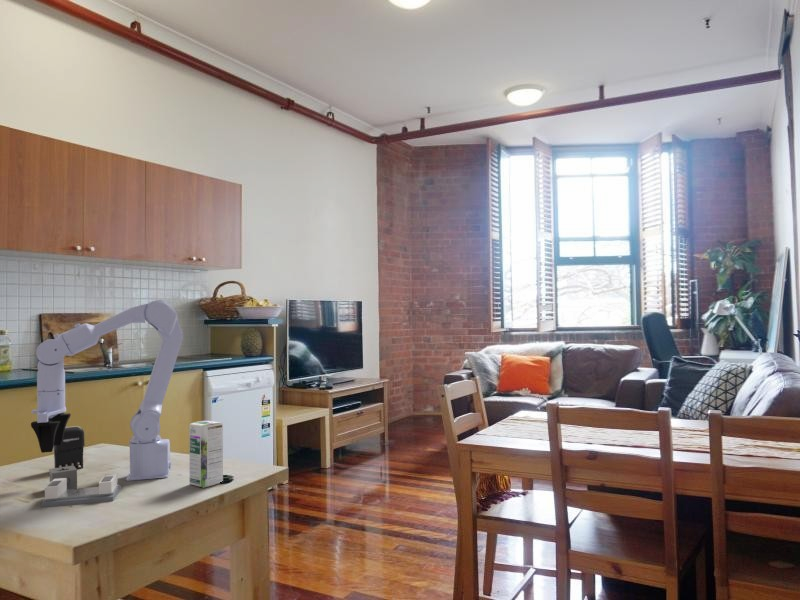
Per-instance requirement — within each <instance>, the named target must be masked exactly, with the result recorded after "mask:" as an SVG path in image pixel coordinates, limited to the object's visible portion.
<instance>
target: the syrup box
mask: <svg viewBox="0 0 800 600" xmlns="http://www.w3.org/2000/svg"><path fill="white" fill-rule="evenodd" d="M188 429H189V430H188V431H189V432H188V433H189V437H188V438H189V445H188V446H189V457H188V458H189V462H188V463H189V464H188V465H189V476H188V477H189V483H188V484H189V485H190V486H192V485H193V486H195V487H201V488H203V489H204V488H208V487H212V486H215V485H219V484H221V483H220V482H222V481H223V482H224V454H223V453H224V450H223V449H224V443H223V442H224V441H223V440H224V438H223V437H224V434H223V433H224V430H223V429H224V423H223V422H220V421H213V420H199V421H198V420H197V421H195V422H192V423H189V427H188ZM223 482H222V483H223Z"/></svg>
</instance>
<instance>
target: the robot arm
mask: <svg viewBox="0 0 800 600" xmlns="http://www.w3.org/2000/svg"><path fill="white" fill-rule="evenodd" d="M146 322H147V323H148V324H149V325H150V326H151V327H153V328H154V329H155V331H156V333H157V334H158V336H160V338H161V342H160V346H159V349H158V351H157V355H156V358H155V361H154V363H153V367H152V370H151V373H150V376H149V380H148V383H147V386H146V389H145V391H144V396H143V399H142V401H141V403H140V405H139V408H138V409H137V412H136V413H135V414H134V415H133V416H132V417H131V420H130V424H129V425H130V429H131V431H132V433H133V435H132V437H130V439H129V473H128V476H126V478H125V481H127V482H130V481H141V480H151V479H163V478H168V477H169V474H170V472H171V470H172V469H171V468H172V462H171V443H170V439H168V438H165V439H164V438H161V435H160V432H161V423H160V418H161V415H162V409H163V408H162V407H163V403H164V399H165V397H166V394H167V390H168V387H169V384H170V382H171V377H172V374H173V371H174V369H175V364H176V363H177V358H178V355H179V351H180V349H181V346H182V343H183V340H184V333H183V331H182V327H181V325H180V322H179V317H178V312H177V311H176V310H175V308H174V307H173V306H172V305H171V304H170V303H169V302H168V301H165V300H162V299H157V300H156V299H155V300H152V301H150V302H148V303H142V304H140V305H136V306H133V307H130V308H128V309H125V310H123V311H121V312H119V313H117V314H115V315H113V316H111V317H109V318H106V319H104V320H103V321H100V322H98V323H97V324H94V325H93V324H90V323H83V324H80V323H76V324H74V325H73V328H70V329H69V330H67V331H64V332H62V333H60V334H59V333H56V334H53V338H54V339H53V338H48V339H45V340H44V341H42V342H41V343H39V345H38V346H37V348H36V350H35V354H36V358H37V359H38V362H37V372H36V397H37V398H36V399H37V402H36V403H37V404H36V405H37V408H36V409H32V410H31V415H32V414H33V415H34V414H36V415H37V416H36V417H37V418H36V419H37V420H36V421H34V420H33V421H32V422H30V426H31V429H32V430H33V432H34V433H35V435H36V438H37V442H38V445H39V449H40V451H41V454H43V453H51V452H54V451H53V447H54V445H61V444H62V441H63V436H64V431H65V427H67V423H68V422H69V420H70V417H71V413H68V412H67V407H66V370H65V369H64V366H65V365H64V363H65V362H64V361H65V360H64V358H65V356H69V357H72V356H74V355H76V354H78V353H81V352H84V351H85V350H86V349H89V348H91V347H94V346H95V345H97V344H98V342H99V339H100V337H102V336H104V335H106V334H109V333H111V332H114V331H116V330H118V329H121V328H122V327H125V326H128V325H129V324H139V323H140V324H141V323H142V324H145V323H146ZM66 412H67V413H66Z"/></svg>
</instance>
